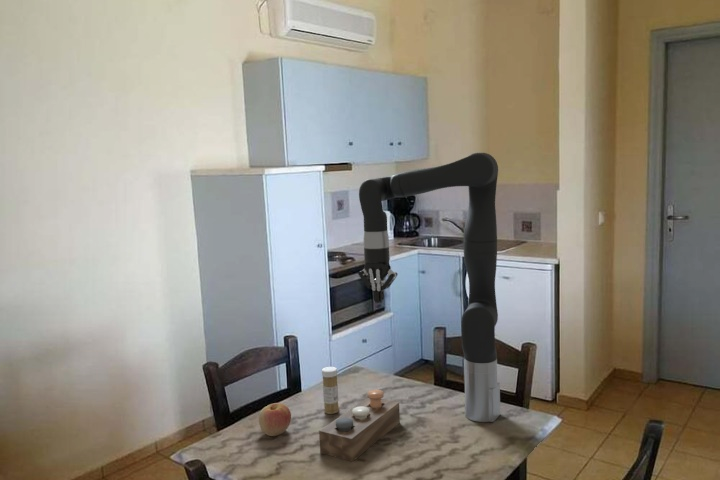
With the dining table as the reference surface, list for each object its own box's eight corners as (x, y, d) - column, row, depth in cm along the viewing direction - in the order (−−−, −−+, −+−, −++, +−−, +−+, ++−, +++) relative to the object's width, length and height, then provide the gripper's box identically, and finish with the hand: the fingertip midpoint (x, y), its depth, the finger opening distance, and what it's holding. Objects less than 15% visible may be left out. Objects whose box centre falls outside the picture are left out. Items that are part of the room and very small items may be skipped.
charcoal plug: (357, 445, 156) (356, 419, 155) (348, 452, 152) (346, 426, 151) (343, 441, 158) (342, 416, 158) (333, 448, 155) (332, 423, 154)
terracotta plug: (387, 414, 169) (386, 391, 168) (379, 421, 165) (378, 397, 164) (373, 411, 172) (372, 388, 171) (365, 417, 168) (364, 394, 167)
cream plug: (373, 432, 163) (372, 408, 162) (364, 439, 159) (363, 414, 158) (359, 429, 165) (358, 405, 164) (350, 436, 161) (348, 411, 160)
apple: (297, 428, 169) (295, 401, 168) (280, 442, 161) (278, 414, 160) (271, 424, 173) (269, 398, 172) (253, 437, 165) (251, 410, 164)
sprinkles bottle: (333, 407, 183) (330, 365, 181) (342, 411, 179) (340, 368, 177) (321, 411, 180) (318, 368, 178) (330, 416, 176) (327, 372, 175)
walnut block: (399, 422, 170) (399, 402, 169) (352, 461, 149) (351, 438, 148) (369, 415, 175) (369, 396, 174) (320, 452, 154) (319, 430, 153)
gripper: (402, 244, 177) (404, 301, 179) (364, 243, 184) (366, 298, 186) (389, 248, 171) (391, 307, 173) (351, 246, 178) (353, 303, 180)
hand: (378, 302), depth 179 cm, fingers closed
